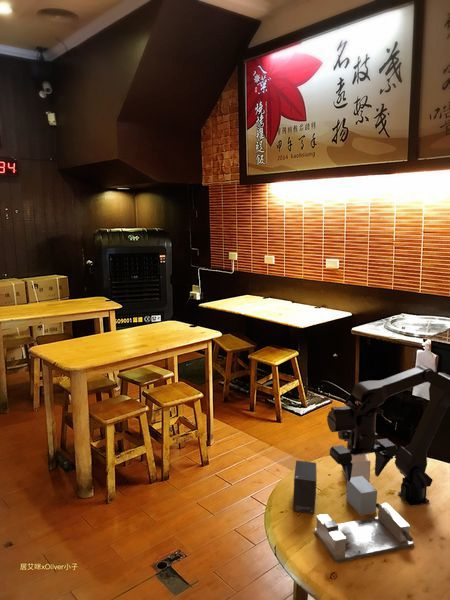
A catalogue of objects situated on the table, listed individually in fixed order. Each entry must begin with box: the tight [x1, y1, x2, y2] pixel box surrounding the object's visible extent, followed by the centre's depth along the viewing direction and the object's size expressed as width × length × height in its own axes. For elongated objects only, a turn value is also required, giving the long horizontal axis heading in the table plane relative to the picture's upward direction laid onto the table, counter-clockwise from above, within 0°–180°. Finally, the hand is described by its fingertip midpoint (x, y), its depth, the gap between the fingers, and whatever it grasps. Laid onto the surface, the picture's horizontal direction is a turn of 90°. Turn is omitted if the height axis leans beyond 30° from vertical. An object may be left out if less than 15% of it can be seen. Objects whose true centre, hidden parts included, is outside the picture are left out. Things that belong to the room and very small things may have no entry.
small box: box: [292, 459, 318, 514], centre depth 140 cm, size 11×6×10 cm, turn 168°
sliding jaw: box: [376, 502, 414, 542], centre depth 126 cm, size 2×15×4 cm, turn 15°
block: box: [345, 476, 378, 516], centre depth 138 cm, size 5×8×7 cm, turn 15°
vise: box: [314, 513, 415, 564], centre depth 124 cm, size 22×12×6 cm, turn 105°
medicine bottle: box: [341, 441, 371, 482], centre depth 154 cm, size 7×7×12 cm
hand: (362, 478), depth 137 cm, fingers open, 9 cm apart
